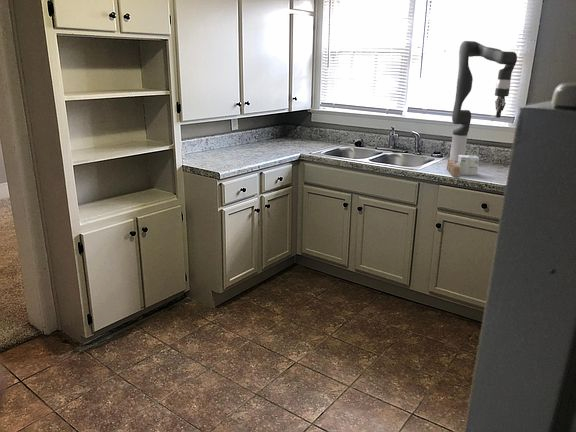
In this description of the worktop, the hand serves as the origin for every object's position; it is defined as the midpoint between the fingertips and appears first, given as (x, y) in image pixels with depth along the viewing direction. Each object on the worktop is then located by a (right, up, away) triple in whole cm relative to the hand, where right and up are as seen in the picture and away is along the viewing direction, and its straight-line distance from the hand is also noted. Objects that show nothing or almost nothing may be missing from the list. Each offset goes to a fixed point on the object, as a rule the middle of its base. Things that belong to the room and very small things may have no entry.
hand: (498, 117), depth 286 cm
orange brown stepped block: (-27, -33, 0) cm, 43 cm away
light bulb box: (-19, -34, 0) cm, 39 cm away
